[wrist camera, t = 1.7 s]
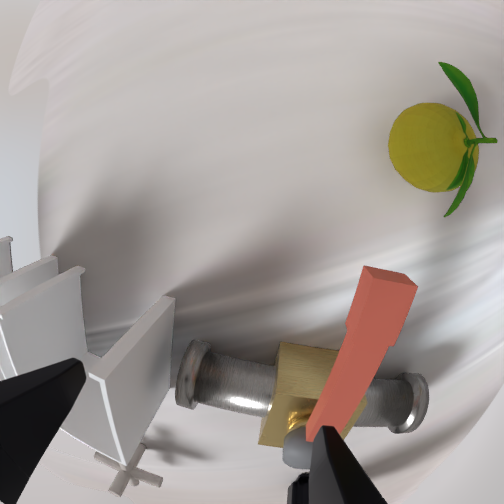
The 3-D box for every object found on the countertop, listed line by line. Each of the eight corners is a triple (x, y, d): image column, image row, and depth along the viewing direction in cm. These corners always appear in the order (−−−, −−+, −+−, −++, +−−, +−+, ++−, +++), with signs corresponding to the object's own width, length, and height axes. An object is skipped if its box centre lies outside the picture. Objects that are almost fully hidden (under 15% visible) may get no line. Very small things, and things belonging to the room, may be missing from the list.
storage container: (18, 310, 27) (-34, 344, 16) (8, 235, 24) (-56, 260, 13) (170, 387, 25) (126, 466, 15) (176, 297, 22) (104, 380, 12)
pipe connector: (105, 414, 29) (71, 461, 19) (169, 440, 28) (143, 497, 19) (117, 448, 32) (93, 489, 22) (173, 470, 31) (154, 517, 21)
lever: (325, 453, 16) (326, 471, 14) (278, 449, 16) (276, 467, 14) (415, 275, 11) (430, 289, 10) (349, 261, 12) (357, 274, 10)
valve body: (416, 358, 21) (444, 410, 14) (389, 405, 22) (404, 457, 16) (199, 324, 22) (167, 378, 15) (195, 378, 24) (170, 432, 17)
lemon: (396, 92, 15) (468, 41, 6) (451, 143, 16) (540, 134, 6) (352, 158, 17) (413, 142, 8) (411, 209, 18) (497, 240, 8)
